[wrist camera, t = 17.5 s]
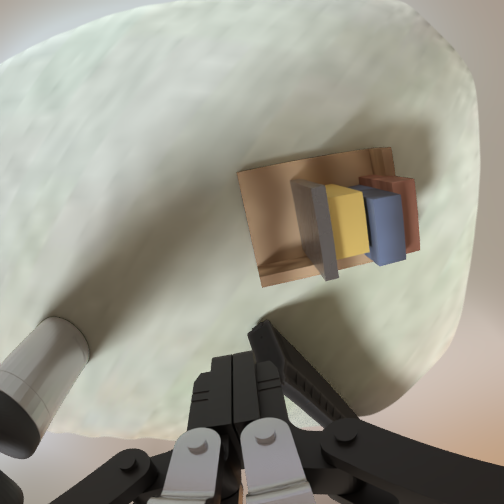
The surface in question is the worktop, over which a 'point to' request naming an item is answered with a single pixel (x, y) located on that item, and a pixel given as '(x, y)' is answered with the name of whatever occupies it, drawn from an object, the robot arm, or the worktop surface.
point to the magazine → (298, 376)
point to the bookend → (315, 226)
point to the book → (347, 221)
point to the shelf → (328, 172)
